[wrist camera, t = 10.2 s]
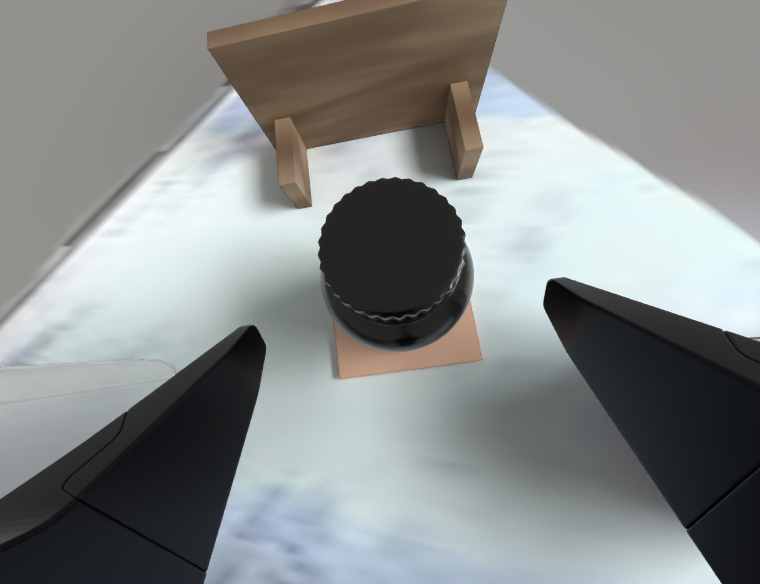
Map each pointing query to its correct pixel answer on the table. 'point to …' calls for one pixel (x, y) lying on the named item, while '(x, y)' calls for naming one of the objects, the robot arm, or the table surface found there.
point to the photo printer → (64, 409)
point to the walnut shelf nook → (361, 75)
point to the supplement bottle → (395, 265)
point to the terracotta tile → (444, 351)
